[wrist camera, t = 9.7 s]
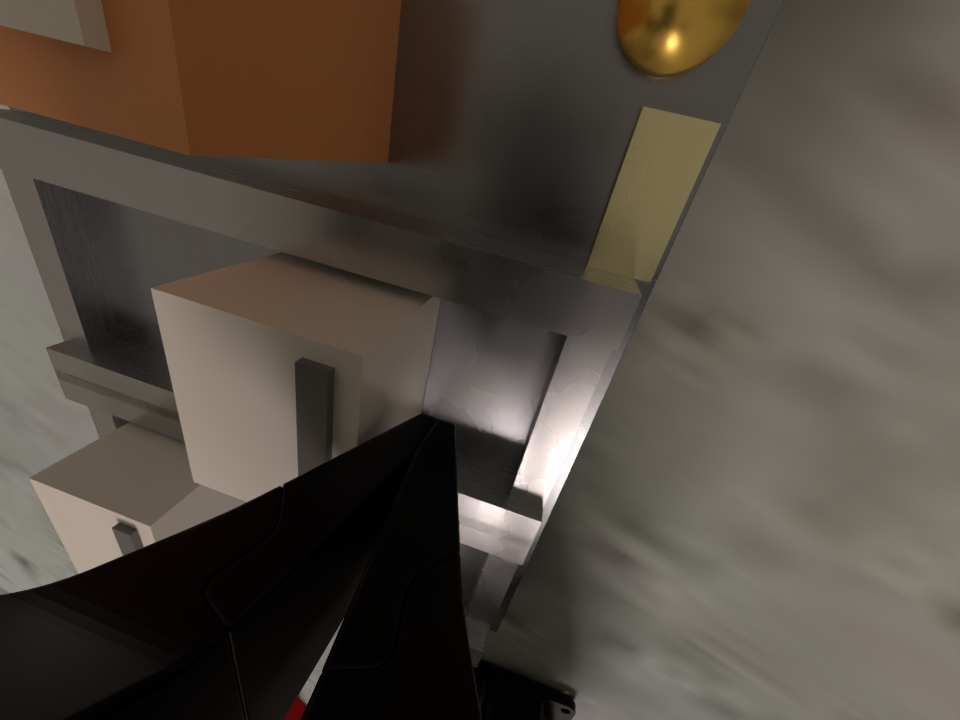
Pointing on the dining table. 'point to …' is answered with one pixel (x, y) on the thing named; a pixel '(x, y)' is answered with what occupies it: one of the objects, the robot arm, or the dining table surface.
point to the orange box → (210, 73)
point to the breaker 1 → (124, 495)
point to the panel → (425, 230)
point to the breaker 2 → (289, 366)
